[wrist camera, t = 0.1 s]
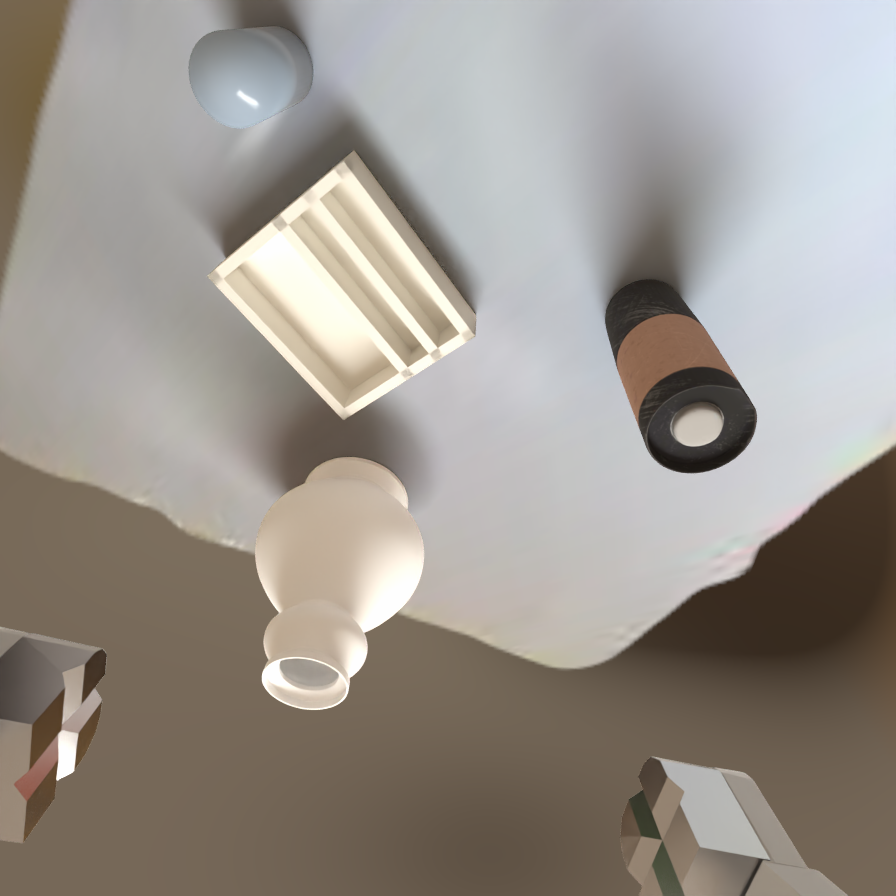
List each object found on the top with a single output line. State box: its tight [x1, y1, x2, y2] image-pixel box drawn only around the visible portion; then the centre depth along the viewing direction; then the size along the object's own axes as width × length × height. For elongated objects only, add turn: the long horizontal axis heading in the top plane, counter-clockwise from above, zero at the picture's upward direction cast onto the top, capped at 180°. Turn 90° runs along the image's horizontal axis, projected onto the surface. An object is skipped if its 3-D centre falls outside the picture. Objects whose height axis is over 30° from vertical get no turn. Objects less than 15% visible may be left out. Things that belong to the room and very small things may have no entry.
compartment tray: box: [207, 150, 476, 420], centre depth 58 cm, size 16×18×5 cm
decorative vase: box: [255, 457, 424, 710], centre depth 65 cm, size 18×18×25 cm
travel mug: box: [605, 280, 757, 473], centre depth 52 cm, size 8×8×20 cm
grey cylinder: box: [189, 26, 313, 129], centre depth 45 cm, size 6×6×11 cm
